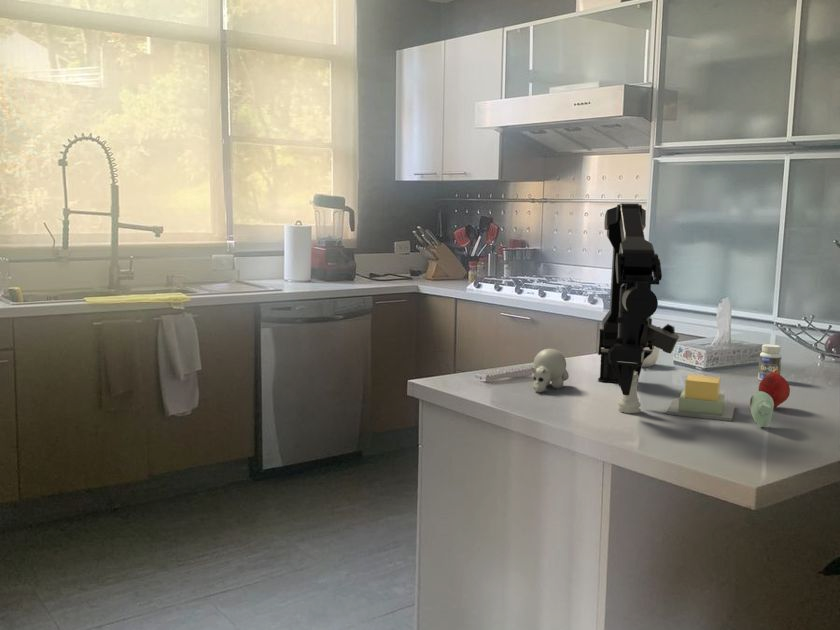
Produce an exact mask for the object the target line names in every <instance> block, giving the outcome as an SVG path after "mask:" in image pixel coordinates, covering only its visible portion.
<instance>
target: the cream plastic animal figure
mask: <svg viewBox="0 0 840 630" xmlns="http://www.w3.org/2000/svg"><path fill="white" fill-rule="evenodd" d="M533 360H534V361H533V367H532V366H531V369H530V370H531V371H532V373H531V379H532V381H533V386H532V387H533V390H534V391H535V392H536V393H543V392H545V390H546V389H547V387H548V386H550V384H551V386H552V388H554V389H556V388H557V390H558V389H561V388H563V387H564V382H565V381H568V379H569V376H570V375H569V373H568V372H569V371H567V360H566V358H565V355H563V354H562V352H561V351H559V350H557V349H555V348H545V349H542V350H540V351H539V352H537V354H536V356H535V357H534V359H533Z"/></svg>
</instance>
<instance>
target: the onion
mask: <svg viewBox="0 0 840 630" xmlns="http://www.w3.org/2000/svg"><path fill="white" fill-rule="evenodd" d="M779 372H780V374H779ZM757 390H758V391H762V392H765V393H767V394H768V395H770V396H771V397H772V399H773V401H774V408H773V409H776V408H777V407H779V406H780V405H781V404H783V403H784V402H786V400H788V398H789V397H790V394H791V388H790V385H789V383H788V381H787V380H786V379H785V377H783V376H782V375H781V370H780V371H779V370H778V369H775V370H774V371H772V373H771V374H769V375H767V376H766V377H765V378H763V379H762V381H761V380H760V382H759V383H758V389H757Z"/></svg>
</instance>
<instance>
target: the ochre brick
mask: <svg viewBox="0 0 840 630" xmlns="http://www.w3.org/2000/svg"><path fill="white" fill-rule="evenodd" d="M684 390H685V398H695V399H704V400H714V401H717V400H718V397H719V394H721V392H720V391H721V376H719V377H718V376H709V375H700V374H699V375H698V374H688V376H687V377H686V379H685V388H684Z"/></svg>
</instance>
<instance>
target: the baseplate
mask: <svg viewBox="0 0 840 630" xmlns="http://www.w3.org/2000/svg"><path fill="white" fill-rule="evenodd" d="M725 397H726V394H725V393H720V394H719V397H718V400H717V401H714V400H704V399H695V398H685V389H683V390H682V392H681V394H680V395H679V397H678V398H677V397H673V399H672V401H671V402H670V404H669V406H668V408H667V409H666V415H672V416H673V415H674V416H680V417H690V418H699V419H700V418H701V419H709V420H715V421H716V420H717V421H726V422H733V420H734V419H733V418H734V414H735V409H736V404H735V403H733V404H732V403H725Z"/></svg>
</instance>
